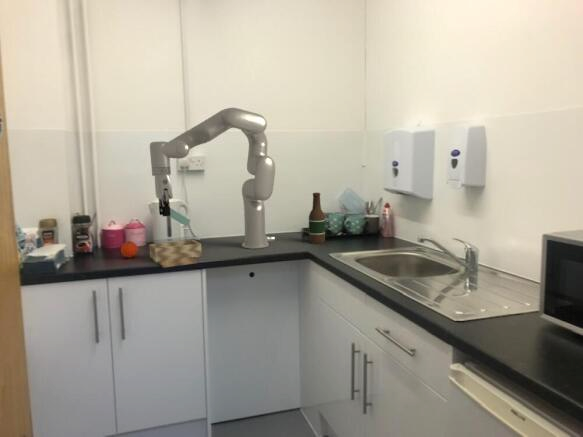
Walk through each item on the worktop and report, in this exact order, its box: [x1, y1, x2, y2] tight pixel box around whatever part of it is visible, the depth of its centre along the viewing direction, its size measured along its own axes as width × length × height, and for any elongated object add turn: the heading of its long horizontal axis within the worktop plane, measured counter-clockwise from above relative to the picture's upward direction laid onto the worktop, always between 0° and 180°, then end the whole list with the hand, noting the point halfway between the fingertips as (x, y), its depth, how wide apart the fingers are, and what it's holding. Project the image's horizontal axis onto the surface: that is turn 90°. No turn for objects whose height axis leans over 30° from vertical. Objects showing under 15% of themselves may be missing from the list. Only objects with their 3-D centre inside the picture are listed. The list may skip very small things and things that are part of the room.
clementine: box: [120, 241, 139, 259], centre depth 200 cm, size 8×7×7 cm
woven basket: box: [148, 239, 203, 263], centre depth 200 cm, size 19×12×6 cm, turn 119°
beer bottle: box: [308, 192, 326, 245], centre depth 224 cm, size 8×8×24 cm
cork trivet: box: [157, 257, 199, 268], centre depth 189 cm, size 14×9×1 cm, turn 119°
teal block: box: [160, 207, 191, 227], centre depth 198 cm, size 12×4×3 cm
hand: (165, 214), depth 196 cm, fingers closed on teal block, 4 cm apart
